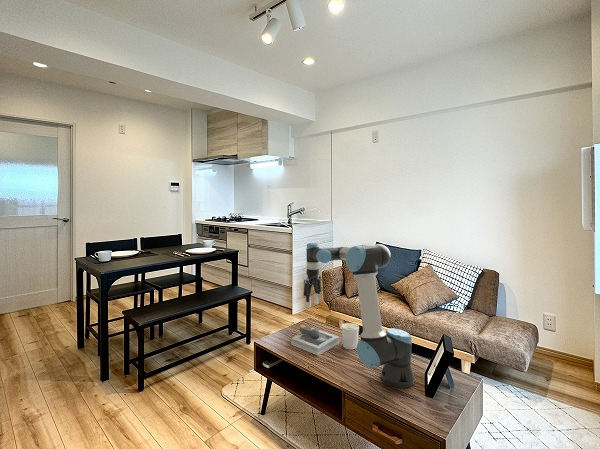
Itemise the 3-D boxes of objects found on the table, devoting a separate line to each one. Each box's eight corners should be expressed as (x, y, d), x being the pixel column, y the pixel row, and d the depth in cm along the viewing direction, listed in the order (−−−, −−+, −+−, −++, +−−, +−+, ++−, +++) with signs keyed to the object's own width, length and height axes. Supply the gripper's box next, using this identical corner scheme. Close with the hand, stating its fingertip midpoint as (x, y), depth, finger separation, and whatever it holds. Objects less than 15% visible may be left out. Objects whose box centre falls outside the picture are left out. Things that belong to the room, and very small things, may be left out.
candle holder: (340, 348, 181) (340, 328, 180) (343, 341, 191) (343, 322, 190) (357, 351, 178) (357, 330, 177) (359, 343, 187) (360, 324, 187)
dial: (330, 339, 188) (330, 329, 187) (317, 347, 178) (317, 336, 177) (308, 331, 199) (308, 322, 199) (294, 338, 189) (294, 328, 189)
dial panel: (339, 343, 188) (339, 336, 188) (318, 355, 173) (318, 348, 173) (312, 333, 201) (312, 327, 201) (291, 344, 186) (291, 337, 186)
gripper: (317, 265, 204) (317, 300, 205) (297, 270, 189) (297, 308, 190) (327, 266, 199) (326, 302, 200) (307, 272, 184) (306, 310, 186)
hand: (312, 305), depth 195 cm, fingers open, 7 cm apart
